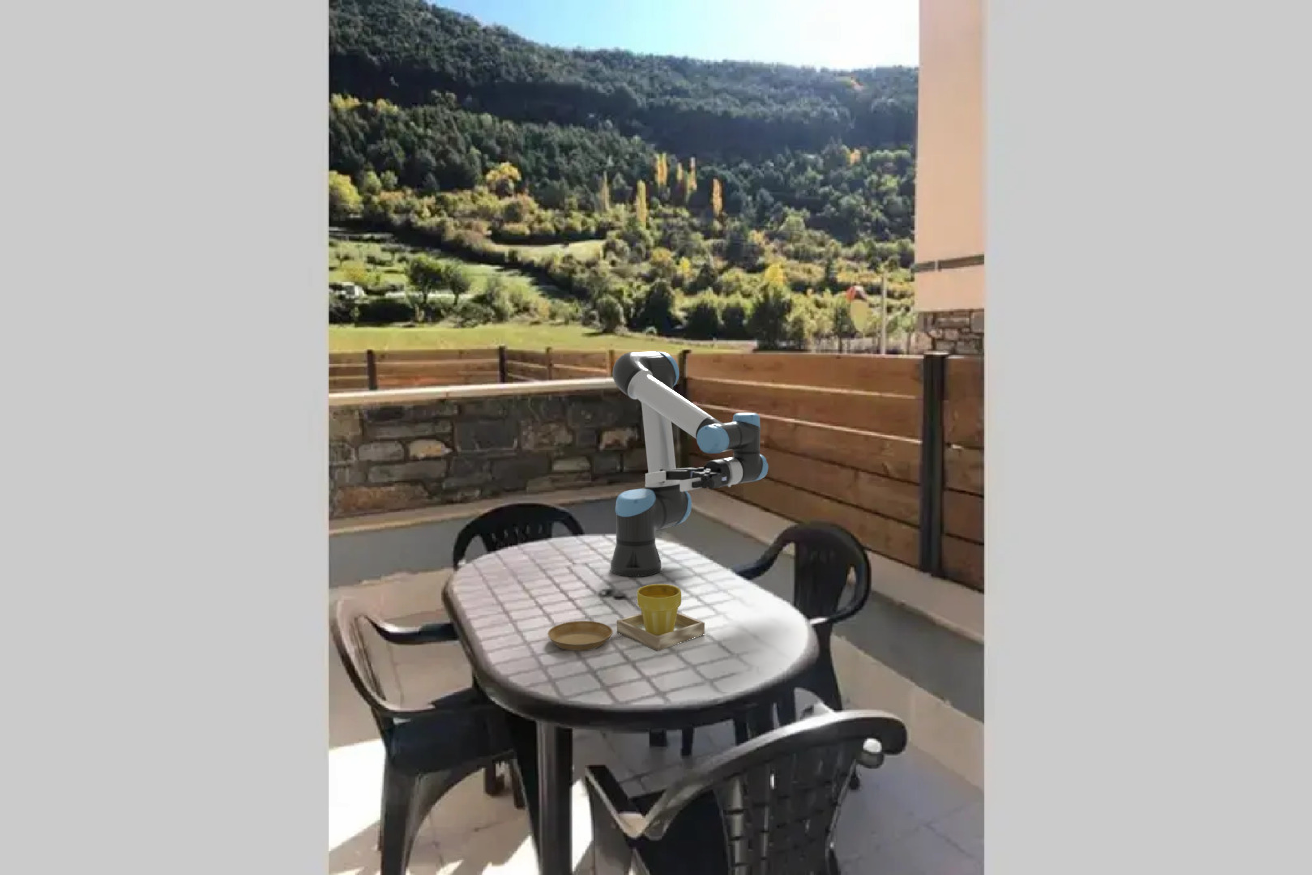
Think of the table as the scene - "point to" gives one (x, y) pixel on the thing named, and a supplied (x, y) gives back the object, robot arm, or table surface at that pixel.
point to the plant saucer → (580, 635)
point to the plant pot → (659, 607)
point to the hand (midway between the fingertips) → (662, 482)
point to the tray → (682, 632)
